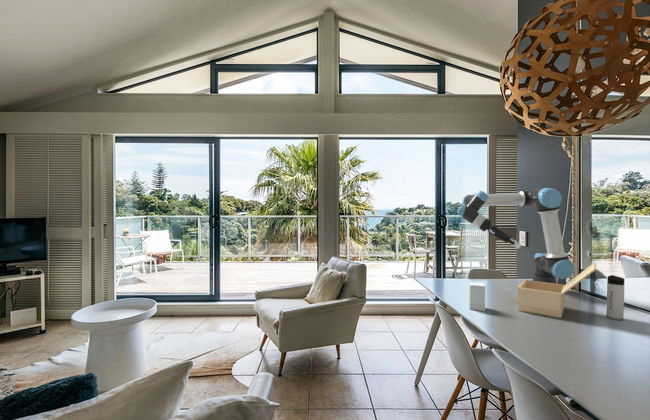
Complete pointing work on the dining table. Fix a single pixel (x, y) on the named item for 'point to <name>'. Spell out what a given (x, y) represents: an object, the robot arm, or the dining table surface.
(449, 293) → the dining table surface
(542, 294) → the carton
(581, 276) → the carton flap
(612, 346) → the dining table surface
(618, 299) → the travel mug
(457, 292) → the dining table surface
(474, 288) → the supplement box
